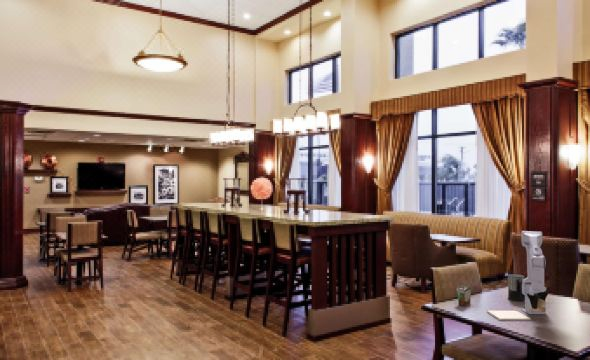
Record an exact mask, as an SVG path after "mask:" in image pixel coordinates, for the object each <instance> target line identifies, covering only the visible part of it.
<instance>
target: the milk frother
mask: <svg viewBox="0 0 590 360" xmlns="http://www.w3.org/2000/svg"><path fill="white" fill-rule="evenodd" d="M524 279H525V275H522V274H517V273H515V274H514V273H513V274H512V273H510V274H507V290H508V291H507V293H508V294H507V300H508V301H511V302H522V303H523V302H525V295H524V294H523V293H522V281H523V280H524Z"/></svg>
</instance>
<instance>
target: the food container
mask: <svg viewBox="0 0 590 360" xmlns="http://www.w3.org/2000/svg"><path fill="white" fill-rule="evenodd" d="M456 292H457V301H458V302H457V303H458V306H460V307H463V308H466V307H468V306H469V305H471V293H472V286H470V285H458V286H457V288H456Z"/></svg>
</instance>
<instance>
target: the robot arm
mask: <svg viewBox="0 0 590 360" xmlns="http://www.w3.org/2000/svg"><path fill="white" fill-rule="evenodd" d="M520 239H521V246H522V247H525V249H526V250H525V251H526V265H527V266H526V269H527V271H526V272H527V277H526V278H525V277H524V280H523V281H522V293H523V294H524V295H525V301H524V309H523V308H521V311H523V312H525V313H526V314H528V315H547V312H535V311H533V310H532V309H530V303H531V307H532V308H533V309H537V306H538V300H539V299H542V300H543V301H545V302H546V299H547V298H548V295H549V292H548V291H547V287H546V286H545V268H546V265H547V263H546V257H545V255H544V254H543V250H542V248H541V246H542V243H543V232H542V231H533V230H532V231H530V230H529V231H528V230H522V231H521V238H520Z"/></svg>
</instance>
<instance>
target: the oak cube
mask: <svg viewBox="0 0 590 360" xmlns="http://www.w3.org/2000/svg"><path fill="white" fill-rule="evenodd" d="M546 303H547V301H546V300H545V301H543V300H542V299H539V300H538V306H537V309H533V308H532V307H531V303H530V309H532V310H533V311H535V312H546V311H547V309H546V308H547V306H546V305H547V304H546ZM546 313H547V312H546Z"/></svg>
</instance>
